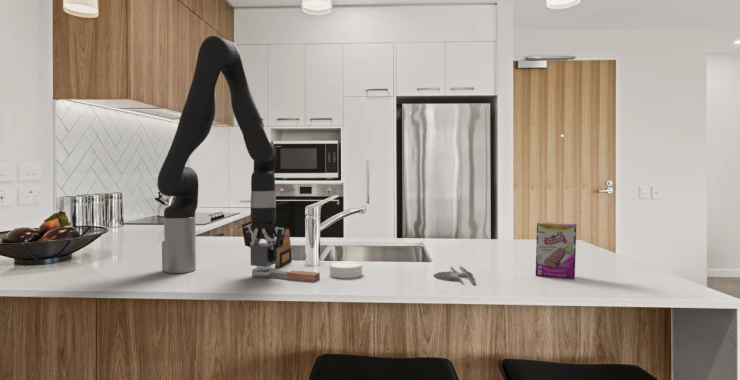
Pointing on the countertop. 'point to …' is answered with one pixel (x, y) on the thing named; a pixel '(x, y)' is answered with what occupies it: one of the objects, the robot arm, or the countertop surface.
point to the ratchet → (284, 274)
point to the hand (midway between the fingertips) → (263, 260)
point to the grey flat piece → (455, 276)
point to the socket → (261, 255)
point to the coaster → (345, 269)
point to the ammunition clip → (284, 251)
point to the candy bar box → (556, 250)
